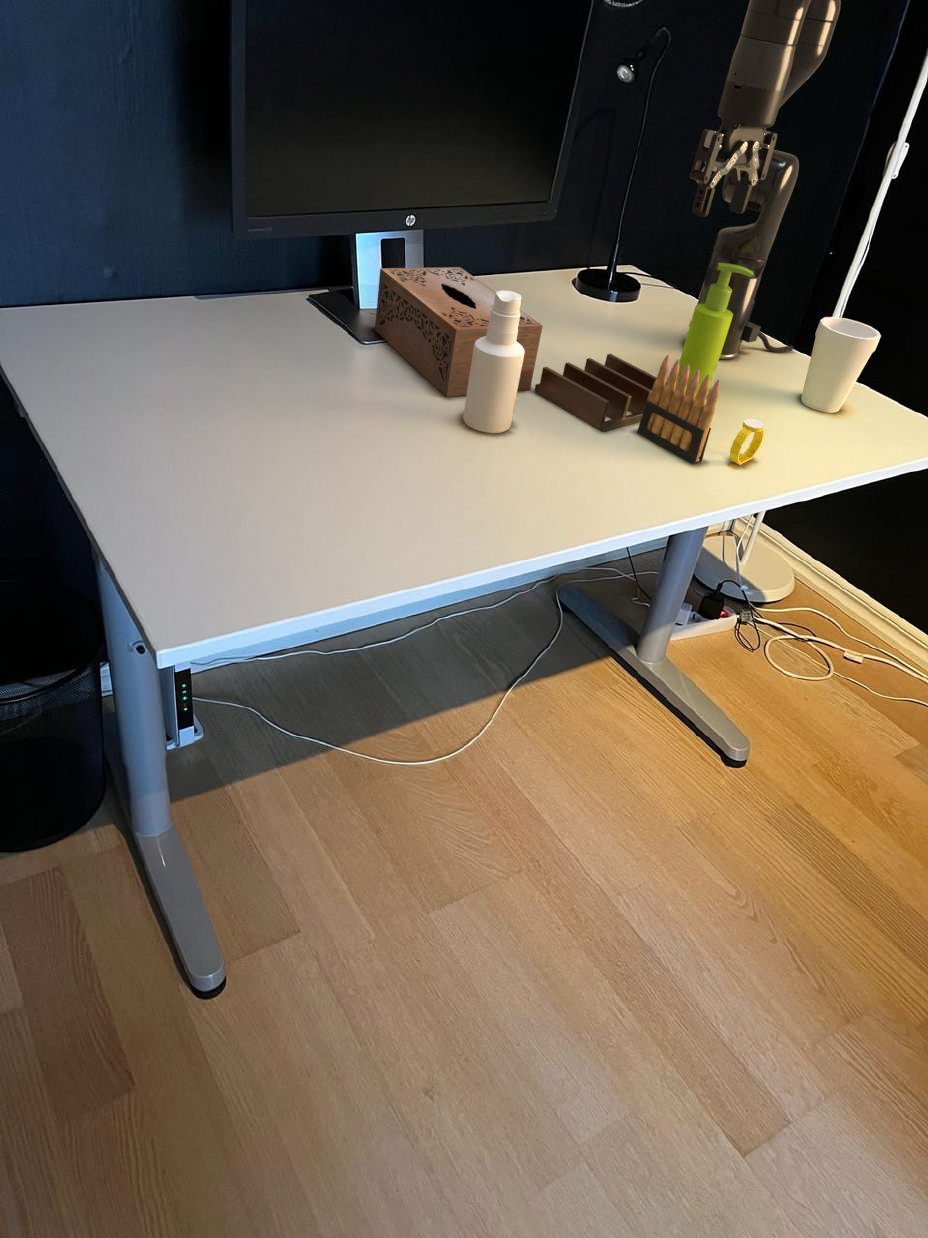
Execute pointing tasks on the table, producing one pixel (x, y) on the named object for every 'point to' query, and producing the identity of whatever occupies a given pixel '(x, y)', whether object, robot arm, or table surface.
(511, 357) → the spray bottle
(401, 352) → the tissue box cover
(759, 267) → the robot arm
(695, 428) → the ammunition clip
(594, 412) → the slotted rack
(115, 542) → the table surface
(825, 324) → the foam cup
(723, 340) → the soap dispenser
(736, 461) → the watch
